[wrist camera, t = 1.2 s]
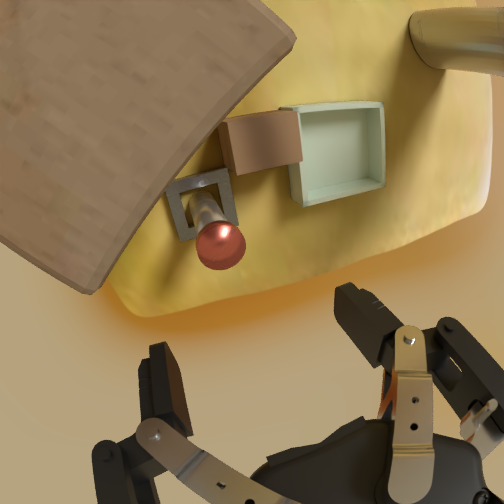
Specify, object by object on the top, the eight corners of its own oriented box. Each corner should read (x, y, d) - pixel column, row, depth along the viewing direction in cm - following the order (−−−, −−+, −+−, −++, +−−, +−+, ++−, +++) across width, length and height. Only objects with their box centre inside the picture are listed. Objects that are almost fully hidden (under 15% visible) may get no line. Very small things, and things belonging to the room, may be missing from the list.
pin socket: (225, 166, 27) (227, 167, 26) (236, 222, 30) (238, 225, 29) (163, 182, 26) (163, 184, 25) (179, 238, 29) (180, 242, 28)
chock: (274, 110, 26) (297, 111, 21) (280, 152, 28) (303, 161, 24) (215, 120, 25) (227, 122, 20) (224, 164, 27) (237, 175, 23)
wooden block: (136, 171, 24) (93, 306, 8) (57, 117, 19) (-101, 158, 3) (204, 87, 23) (310, 38, 6) (124, 30, 17) (70, -99, 1)
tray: (366, 100, 27) (383, 102, 25) (369, 179, 33) (385, 187, 30) (279, 107, 25) (292, 107, 23) (291, 198, 31) (303, 207, 28)
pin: (214, 182, 27) (241, 219, 19) (221, 213, 29) (249, 262, 21) (181, 192, 27) (191, 234, 18) (189, 223, 29) (204, 275, 20)
